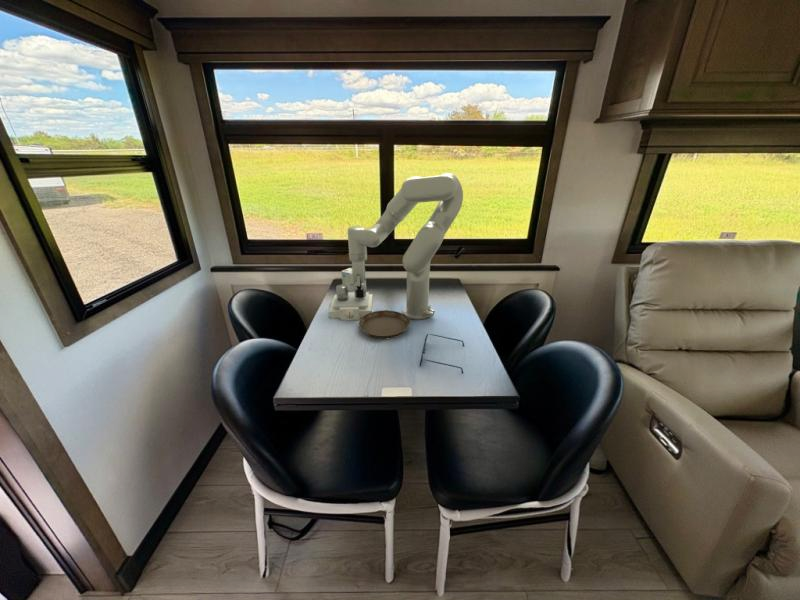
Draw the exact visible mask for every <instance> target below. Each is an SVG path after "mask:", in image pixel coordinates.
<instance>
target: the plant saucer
mask: <svg viewBox="0 0 800 600" xmlns="http://www.w3.org/2000/svg"><path fill="white" fill-rule="evenodd" d="M358 321H359V322H358V326H359V328H360V329H361V331H362V332H363V333H364V334H366V335H367V336H368V337H371V338H375V339H379V338H380V339H381V340H382V339H383V340H388V339H387V338H389V339H393V337H394V338H397V337H399V336H401V335H402V334H403V333H405V332H406V331H407V330H408V329H409V327H410V324H411V319H410V318H408V317H407V316H406V315H404V314H403V312H402V313H401V312H400V311H395V310H390V309H389V310H376V311H372V312H371V313H369V314H366V315H365V316H363V317H360V319H359V320H358ZM396 336H397V337H396ZM380 339H379V340H380Z"/></svg>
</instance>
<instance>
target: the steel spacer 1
mask: <svg viewBox="0 0 800 600" xmlns="http://www.w3.org/2000/svg"><path fill="white" fill-rule="evenodd" d="M335 290H336V295H337V300H338V301H347V300H348V299H349V295H348V286H347V285H344V284H343V283H342V284H338V285H336V287H335Z"/></svg>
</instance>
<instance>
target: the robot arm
mask: <svg viewBox="0 0 800 600" xmlns="http://www.w3.org/2000/svg"><path fill="white" fill-rule="evenodd" d="M463 201H464V190H463V186H462V184H461V182H460V180H459V178H458V177H457V175H455V174H454V173H451V172H445V173H443V174H441V175H431V176H423V177H421V176H418V175H413V176H411V177H408V178H406V179H405V180H404V181H403V183H402V185H401V188H400V189H399V190H398V192H397V193H396V194H395V195H394V196H393V198H392V199H390V201H389V202H388V203H387V204H386V205H387V206H386V209H385V210H384V212H383V214H381V216H380V218H379V219H378V220H376V222H375V224H374V225H373V226H370V227H369V228H365V227H364V226H360V225H356V226H355V225H354V226H350V227H348V228H347V241H348V244H347V245H348V254H349V255H348V256H349V261H350V262H351V268H352V282H353V284H354V283H355V282H356V297H357V298H363V297H364V292H363V284H362V283H364V278H365V275H366V268H365V267H366V262H365V261H367V260H368V251H367V249H368V248H376V247H378V246H379V245H380V244H382V242H383V241H384V240H386V239H387V238H388V236H389V235H390V234H392V232H393V231H394V230H395V229H396V227H397V226H398V225H399V224H400V223H402V221H404V219H406V217H407V216H408V215H409V214H410V213H411V211H412V210H413V209H414V208H415V207H416V206H417V205H418V204H419V203H429V202H438V204H437V205H436V207H435V208H434V210H433V212H432V213H431V214H430V215H431V216H429V218H428V220H427V221H426V222H425V223H424V224H423V225H422V226H421V228H420V229H419V231H418V232H417V233H416V235H415V237H414V239H413V240H412V241H411V243H410V245H409V246H408V248H407V250H406V251H405V252H404V254H403V257H402V265H403V268H404V269H405V271H406V307H404V308H403V310H402V314H404V315H406V316H407V317H408V318H409V320H419V321H421V320H426V319H428V318H430V317H431V318H433V317H434V315H435V312H436V311H435V309H432V308H431V305H430V304H429V298H430V297H429V295H430V294H429V292H430V270H431V262H432V261H431V260H432V259H433V258H434V256H435V254H436V253H437V251H438V250H439V248H440V247H441V245H442V242H443V241H444V239H445V235H446V234H447V232H448V231H449V230H450V228H451V227H452V224H453V223H454V221H455V219H456V218H457V217H458V215H459V212H460V211H461V208H462V205H463V203H464V202H463ZM367 247H368V248H367ZM360 281H361V282H360ZM360 284H361V285H360Z"/></svg>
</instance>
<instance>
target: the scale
mask: <svg viewBox="0 0 800 600" xmlns="http://www.w3.org/2000/svg"><path fill="white" fill-rule="evenodd" d="M348 295H349V299H348V300H347V301H338V300H337V294H334V297H333V298H332V302H331V304H330V308H329V311H328V314H329V318H330V319H335V318H336V319H337V318H340V321H360V319H361V318H362V317H363V316H365V315H366V314H369V313H371V312H373V300H374V299H373V298H374V297H373V293H370V291H366V297H364V298H356V297H355V294H354V292H348Z"/></svg>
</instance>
